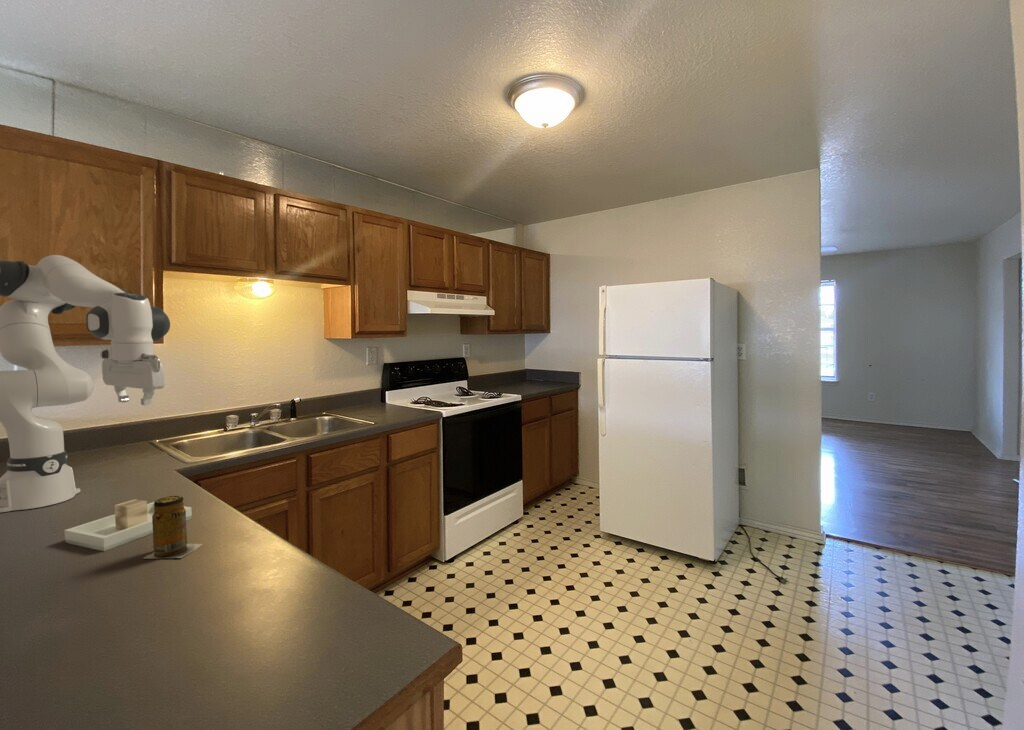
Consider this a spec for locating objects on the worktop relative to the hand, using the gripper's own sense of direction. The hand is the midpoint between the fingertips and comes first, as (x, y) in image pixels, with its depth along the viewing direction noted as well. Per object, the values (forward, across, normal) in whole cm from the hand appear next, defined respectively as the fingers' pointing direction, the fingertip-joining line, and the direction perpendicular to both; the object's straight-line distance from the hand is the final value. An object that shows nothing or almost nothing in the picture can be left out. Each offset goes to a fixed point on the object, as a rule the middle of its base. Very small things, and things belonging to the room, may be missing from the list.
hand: (134, 403), depth 126 cm
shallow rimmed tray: (+29, -13, +9) cm, 34 cm away
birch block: (+29, -13, +9) cm, 33 cm away
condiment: (+29, -36, +14) cm, 48 cm away
